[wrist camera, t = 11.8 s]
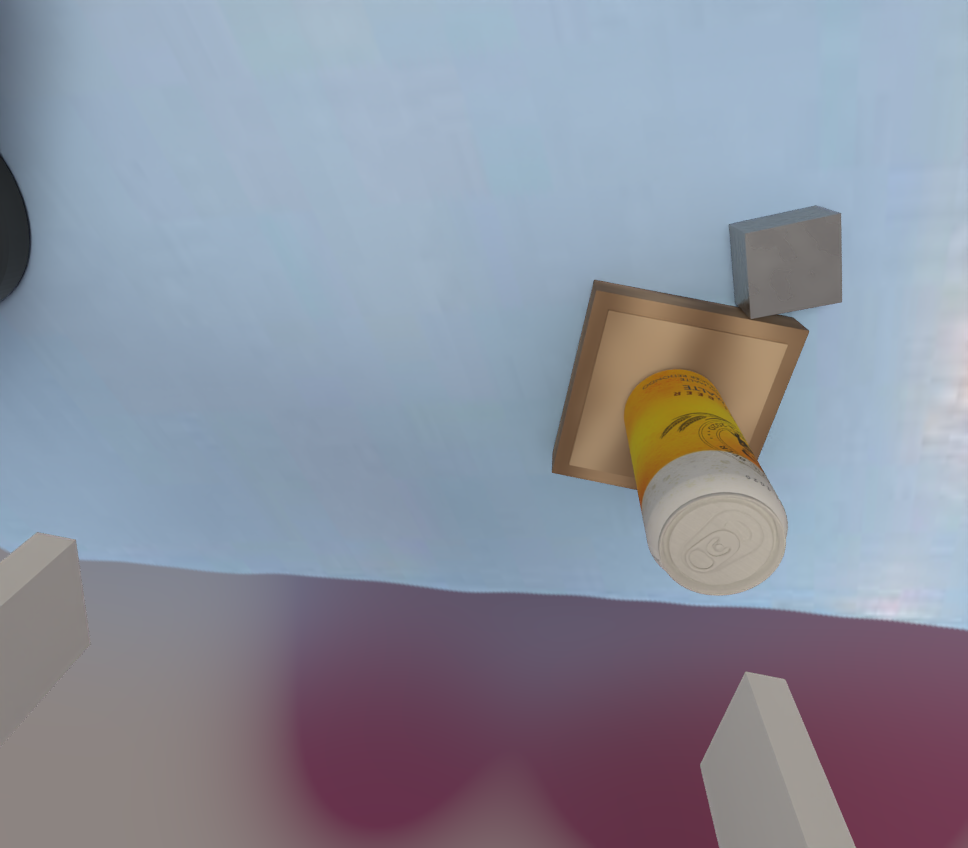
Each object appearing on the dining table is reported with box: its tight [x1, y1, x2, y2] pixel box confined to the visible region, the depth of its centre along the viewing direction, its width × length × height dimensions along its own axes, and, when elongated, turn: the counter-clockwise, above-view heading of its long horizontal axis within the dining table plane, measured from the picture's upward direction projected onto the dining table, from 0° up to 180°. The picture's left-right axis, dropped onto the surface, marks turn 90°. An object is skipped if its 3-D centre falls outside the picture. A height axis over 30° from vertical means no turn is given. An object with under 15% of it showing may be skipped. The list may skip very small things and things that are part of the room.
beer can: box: [624, 369, 788, 595], centre depth 34 cm, size 6×6×15 cm
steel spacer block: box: [729, 206, 842, 319], centre depth 38 cm, size 5×5×4 cm
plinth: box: [552, 280, 809, 490], centre depth 43 cm, size 13×13×3 cm
